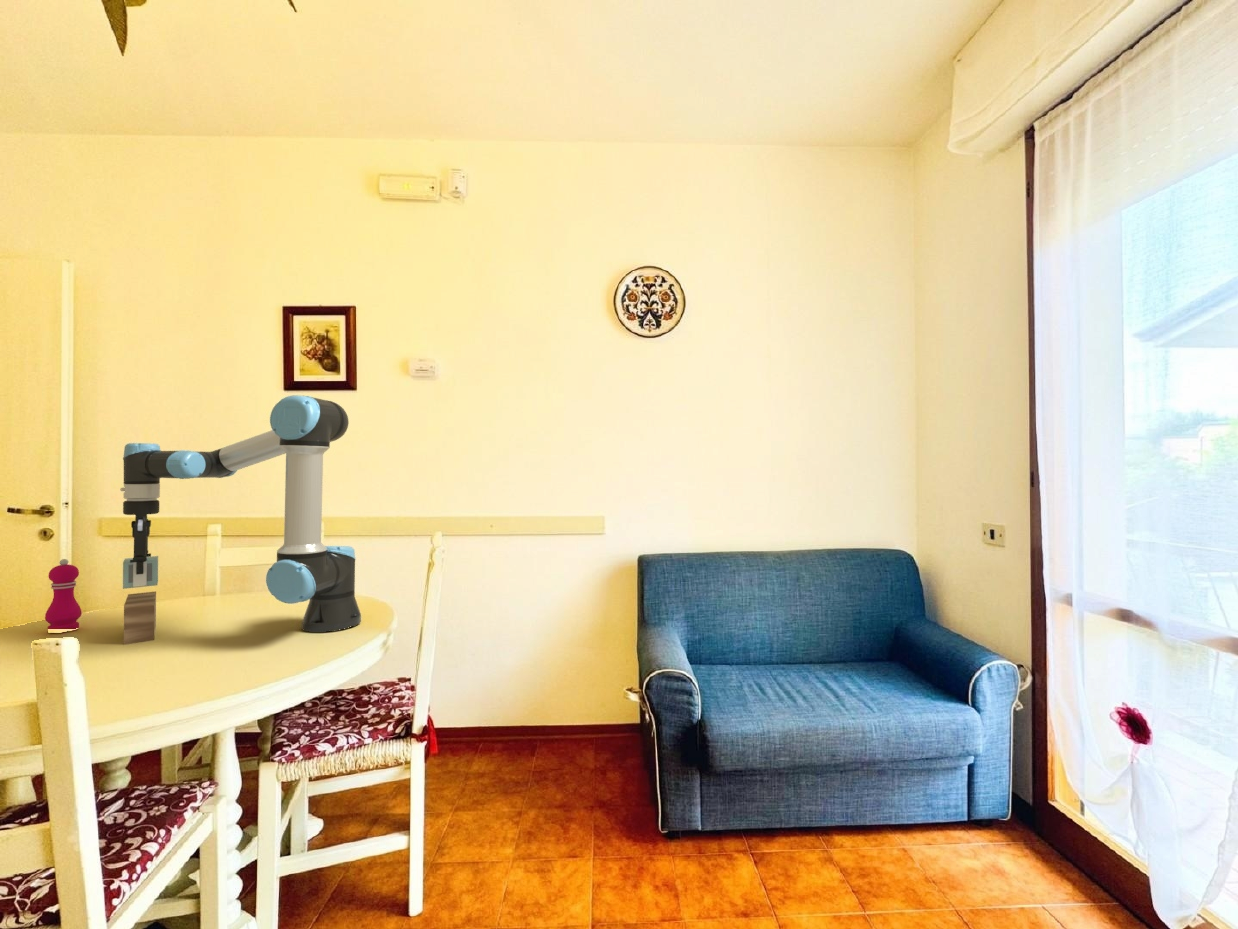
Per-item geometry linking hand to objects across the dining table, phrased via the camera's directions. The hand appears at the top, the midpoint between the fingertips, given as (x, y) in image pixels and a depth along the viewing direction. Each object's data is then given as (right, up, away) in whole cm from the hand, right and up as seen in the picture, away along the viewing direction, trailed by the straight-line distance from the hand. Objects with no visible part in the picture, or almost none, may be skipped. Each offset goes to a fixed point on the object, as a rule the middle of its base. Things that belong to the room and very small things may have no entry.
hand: (140, 583), depth 151 cm
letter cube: (0, 0, 0) cm, 0 cm away
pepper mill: (-24, -14, +3) cm, 28 cm away
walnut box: (0, -14, 0) cm, 14 cm away
